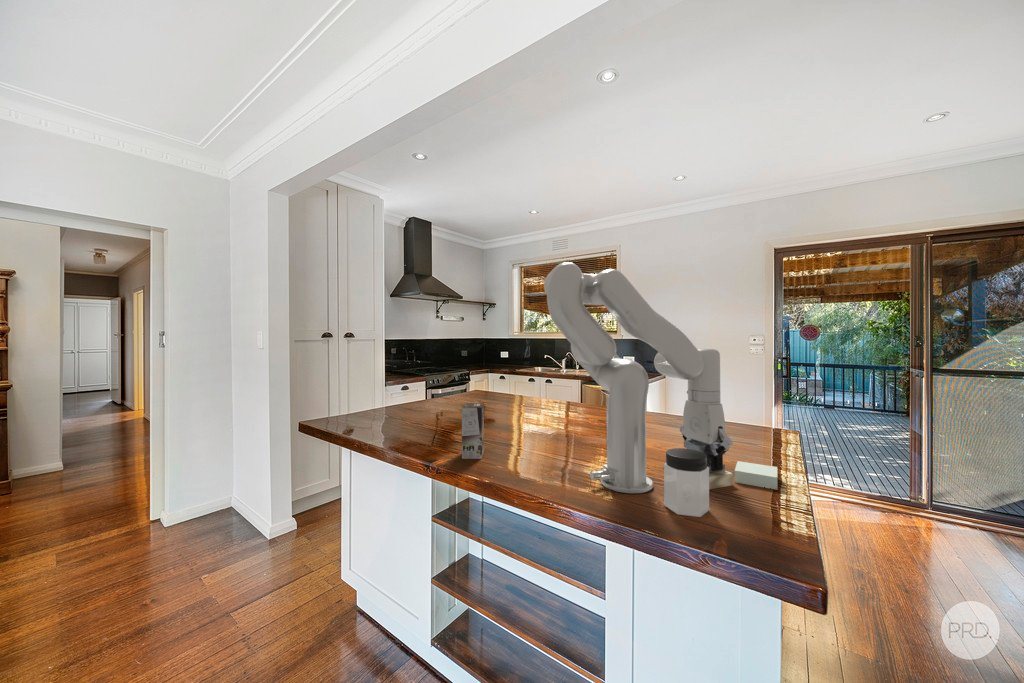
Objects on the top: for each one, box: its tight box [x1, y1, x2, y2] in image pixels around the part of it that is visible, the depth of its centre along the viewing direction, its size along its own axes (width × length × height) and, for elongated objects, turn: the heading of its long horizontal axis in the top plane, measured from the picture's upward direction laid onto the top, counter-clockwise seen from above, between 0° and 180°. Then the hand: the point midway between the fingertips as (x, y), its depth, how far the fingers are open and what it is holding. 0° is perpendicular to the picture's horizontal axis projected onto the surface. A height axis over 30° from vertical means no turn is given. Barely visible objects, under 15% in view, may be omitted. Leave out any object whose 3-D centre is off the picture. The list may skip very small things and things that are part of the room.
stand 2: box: [734, 460, 778, 490], centre depth 99 cm, size 9×9×3 cm
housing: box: [683, 440, 726, 473], centre depth 99 cm, size 8×5×7 cm, turn 108°
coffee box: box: [461, 402, 485, 460], centre depth 124 cm, size 9×6×16 cm
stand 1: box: [709, 470, 734, 490], centre depth 99 cm, size 9×9×3 cm
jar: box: [663, 447, 710, 518], centre depth 83 cm, size 9×8×12 cm
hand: (704, 464), depth 99 cm, fingers open, 7 cm apart
